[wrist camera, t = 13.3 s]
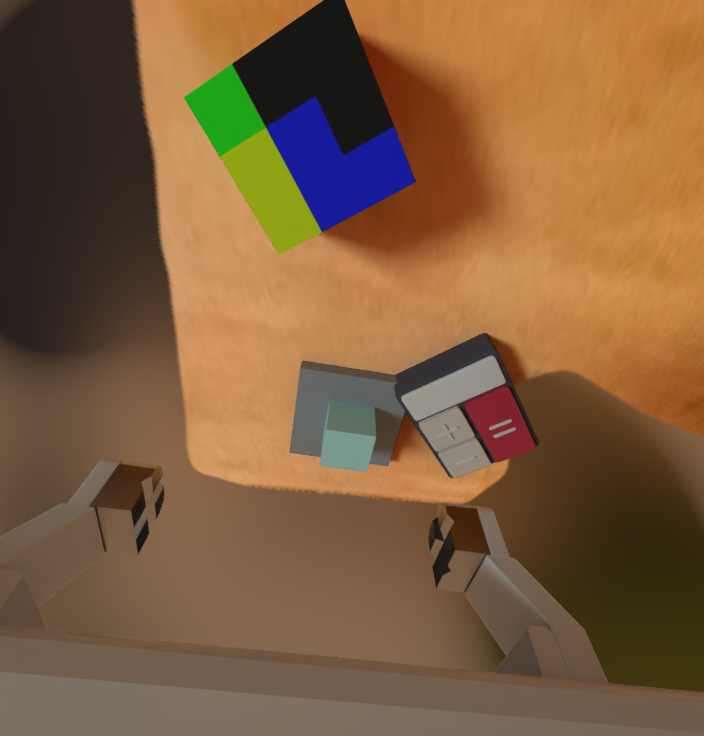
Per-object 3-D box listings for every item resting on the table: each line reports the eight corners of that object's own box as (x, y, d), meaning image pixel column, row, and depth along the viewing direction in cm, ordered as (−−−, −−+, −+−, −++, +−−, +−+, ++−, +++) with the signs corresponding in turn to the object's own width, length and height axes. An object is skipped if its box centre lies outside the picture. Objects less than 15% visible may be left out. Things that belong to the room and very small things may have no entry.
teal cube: (374, 406, 44) (376, 436, 40) (365, 440, 47) (366, 472, 43) (329, 399, 44) (326, 429, 40) (323, 434, 47) (319, 465, 42)
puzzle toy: (400, 166, 34) (416, 181, 25) (297, 223, 36) (279, 255, 27) (344, 27, 29) (340, -12, 20) (230, 103, 31) (183, 97, 23)
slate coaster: (411, 377, 44) (413, 385, 43) (387, 457, 50) (388, 466, 49) (302, 360, 43) (300, 368, 42) (291, 444, 49) (289, 452, 48)
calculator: (451, 484, 48) (394, 400, 41) (444, 457, 52) (390, 375, 44) (543, 450, 45) (499, 352, 38) (529, 424, 49) (485, 330, 41)
